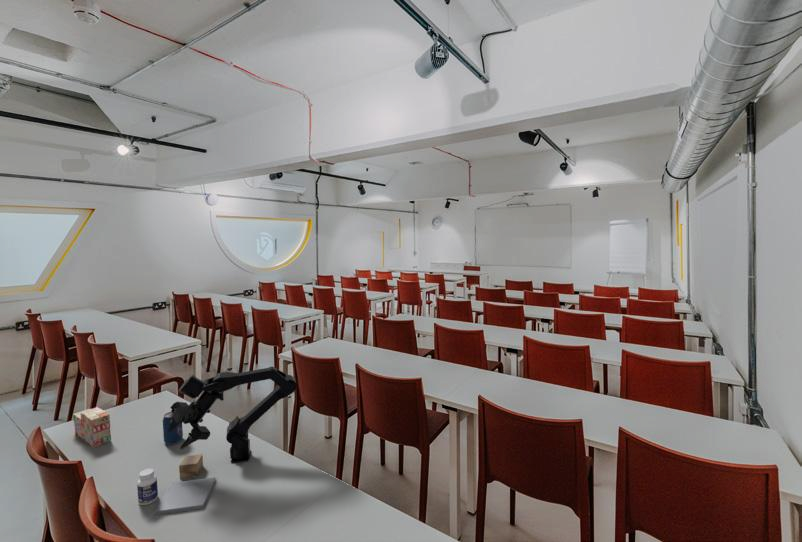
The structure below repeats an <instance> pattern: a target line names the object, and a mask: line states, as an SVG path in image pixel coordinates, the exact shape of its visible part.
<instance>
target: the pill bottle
mask: <svg viewBox="0 0 802 542" xmlns="http://www.w3.org/2000/svg"><path fill="white" fill-rule="evenodd" d="M136 488H137V489H136V490H137V503H138V504H139V505H141V506H146V505H147V506H148V505H149V504H152V503H154V502H155V501H157V499H158V497H159V491H158V477H157V475H156V474H155V469H153V468H145V469H143V470H142V471H140V472H139V479H138V480H137V483H136Z"/></svg>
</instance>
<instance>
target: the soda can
mask: <svg viewBox="0 0 802 542" xmlns="http://www.w3.org/2000/svg"><path fill="white" fill-rule="evenodd" d="M171 421H172V412H171V411H169V412H167V413H165V414H164V415H163V417H162V430H163V442H164V443H165V444H166V445H168V444H171V445H176V444H177V443H180V440H181V441H182V439H183V436H184V432H183V431H184V430H183V422H182V423H180V424H179V425H178V426H177V427H176V428H175V429H174V430H172V431H171V432H168V429H169V427H170V424H171Z"/></svg>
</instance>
